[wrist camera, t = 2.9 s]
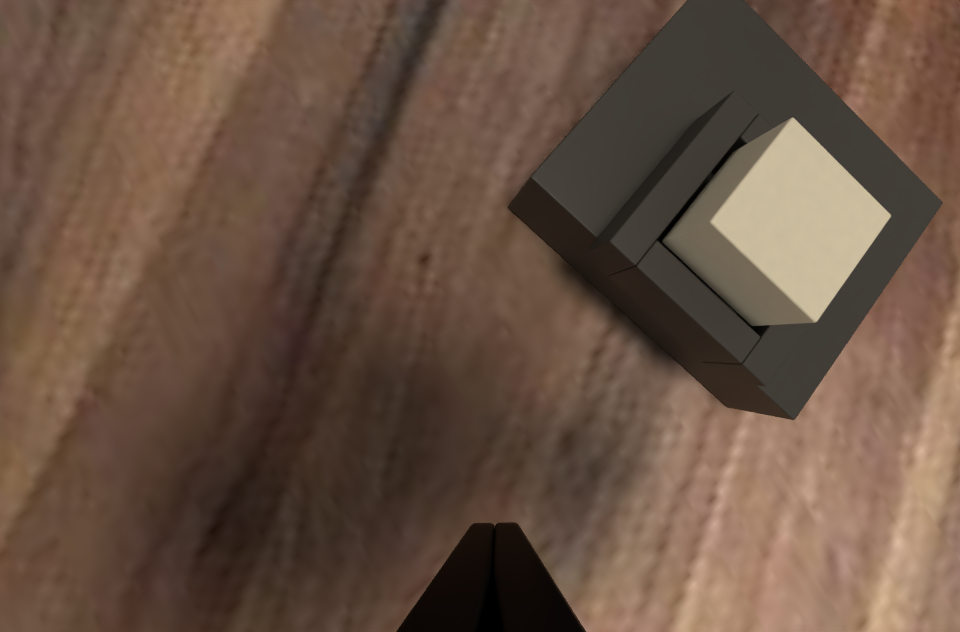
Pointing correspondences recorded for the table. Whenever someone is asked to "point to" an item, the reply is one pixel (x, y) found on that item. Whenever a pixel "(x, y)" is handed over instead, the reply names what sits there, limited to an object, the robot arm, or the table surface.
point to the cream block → (778, 228)
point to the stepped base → (680, 179)
